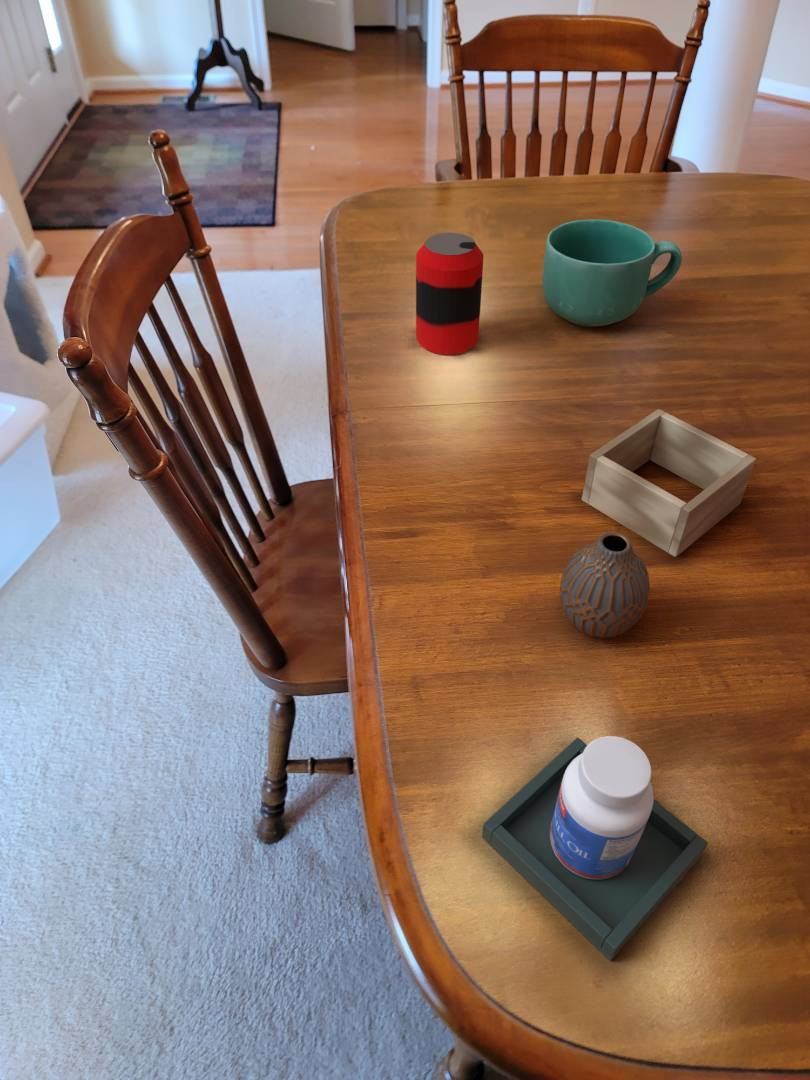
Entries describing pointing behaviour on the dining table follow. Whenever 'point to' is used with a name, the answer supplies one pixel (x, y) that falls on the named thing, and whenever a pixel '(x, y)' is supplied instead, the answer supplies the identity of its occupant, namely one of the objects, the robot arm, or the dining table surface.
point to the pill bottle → (602, 808)
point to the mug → (602, 270)
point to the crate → (653, 507)
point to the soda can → (448, 293)
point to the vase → (605, 587)
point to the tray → (587, 904)
